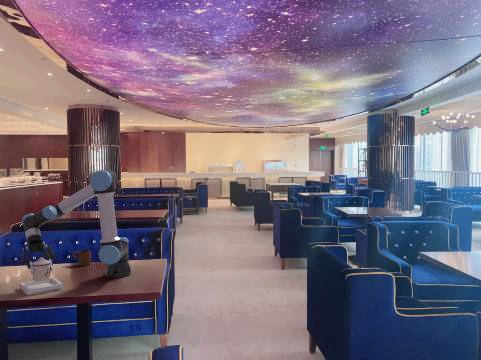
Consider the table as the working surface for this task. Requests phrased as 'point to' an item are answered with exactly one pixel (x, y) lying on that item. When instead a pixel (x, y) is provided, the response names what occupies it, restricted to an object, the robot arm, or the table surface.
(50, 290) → the tray
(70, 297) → the table surface
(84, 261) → the mug
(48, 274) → the teacup with lid
